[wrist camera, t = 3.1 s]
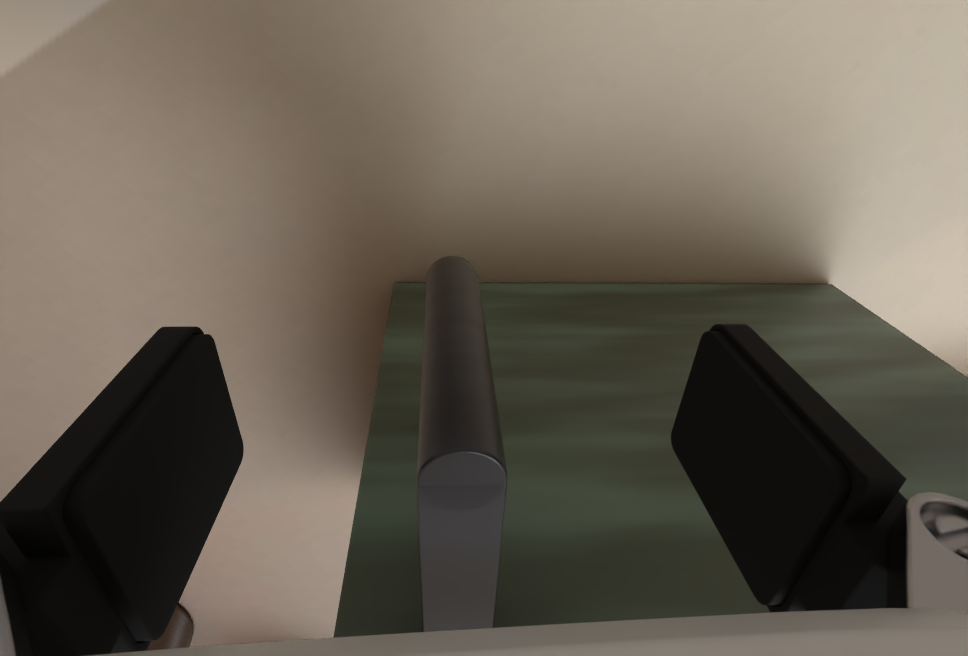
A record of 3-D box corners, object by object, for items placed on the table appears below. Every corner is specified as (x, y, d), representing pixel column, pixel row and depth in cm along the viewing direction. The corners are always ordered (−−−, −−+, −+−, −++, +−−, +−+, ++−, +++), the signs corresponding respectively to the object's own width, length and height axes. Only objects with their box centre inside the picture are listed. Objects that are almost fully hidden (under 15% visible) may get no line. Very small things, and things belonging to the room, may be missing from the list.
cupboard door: (386, 158, 25) (269, 474, 8) (883, 170, 27) (1640, 435, 10) (394, 298, 29) (330, 704, 12) (825, 298, 31) (1291, 640, 14)
